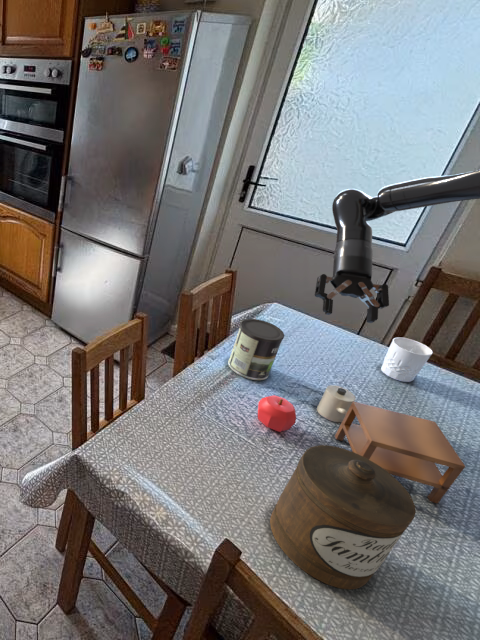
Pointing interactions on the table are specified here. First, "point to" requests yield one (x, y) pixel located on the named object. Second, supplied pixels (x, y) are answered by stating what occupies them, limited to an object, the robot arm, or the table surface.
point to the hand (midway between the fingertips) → (349, 318)
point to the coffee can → (255, 349)
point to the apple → (276, 413)
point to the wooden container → (340, 516)
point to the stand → (402, 446)
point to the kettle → (335, 403)
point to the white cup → (405, 359)
